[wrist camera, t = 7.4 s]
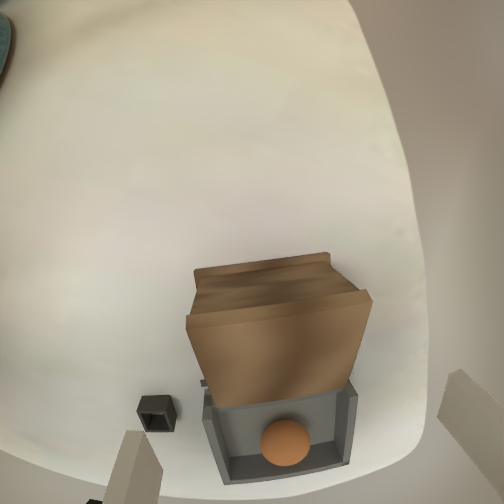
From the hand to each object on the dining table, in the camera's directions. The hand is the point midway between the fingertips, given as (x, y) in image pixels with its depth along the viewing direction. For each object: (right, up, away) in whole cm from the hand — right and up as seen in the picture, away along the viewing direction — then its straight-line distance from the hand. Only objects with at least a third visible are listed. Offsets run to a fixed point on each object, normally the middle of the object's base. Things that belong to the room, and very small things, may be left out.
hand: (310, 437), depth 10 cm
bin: (+1, -10, +18) cm, 21 cm away
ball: (+1, -11, +15) cm, 19 cm away
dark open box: (-12, -8, +17) cm, 22 cm away
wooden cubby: (-1, +2, +16) cm, 16 cm away
